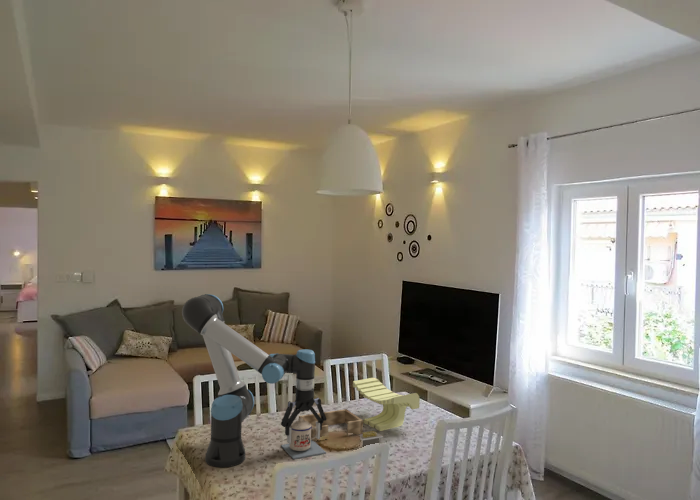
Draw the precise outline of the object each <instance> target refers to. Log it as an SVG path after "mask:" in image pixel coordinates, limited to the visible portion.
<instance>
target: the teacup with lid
mask: <svg viewBox="0 0 700 500" xmlns="http://www.w3.org/2000/svg"><path fill="white" fill-rule="evenodd" d="M290 427H291V428H292V430H291V444H290V445H289V446H290V448H291V449H292V450H296V451H304V450H307V449H309V448H310V446H311V440H312V439H314V438H315V437H316V436H317V429H316V428H315V427H312V426H311V424H310V423H309V422H306V421H304V420H303V418H299V417H298V419H297V420H296V421H295V420H294V421H293V423H292V424H291V426H290ZM312 429H315V434H314V436H313V437H311V430H312Z"/></svg>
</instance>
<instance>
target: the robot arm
mask: <svg viewBox="0 0 700 500" xmlns="http://www.w3.org/2000/svg"><path fill="white" fill-rule="evenodd" d="M223 312H224V304H223V302H222V300H221V299H220V298H219V297H218V296H217V295H215V294H210V293H208V294H207V293H205V294H201V295H197V296H195V297H191V298H189V299H188V300H187V301H186V302H185V303H184V304H183V306H182V309H181V315H182V319H183V321H184V323H186V325H187V326H188V327H190V328H191V329H193V330H194V331H195V332H197V333H198V334H199V335H201V336H202V338H203V340H204V343H205V347H206V349H207V352H208V356H209V358H210V361H211V365H212V368H213V371H214V374H215V376H216V379H217V382H218V383H217V384H218V385H219V386H218V387H219V391H218V393H217V396H218V397H216V398H214V400H213V401H212V403H211V407H210V441H209V444H208V446H207V450H206V451H205V457H204V458H205V463H206V464H207V465H209V466H211V467H215V468H230V467H235V466H237V465H240V464H242V463H243V462H245V460H246V450H245V447H244V442H243V440H242V424H243V421H245V420H246V418H247V417H249V415H250V414H251V413H252V411H253V409H254V406H255V397H254V395H253V393H252V392H251V390H250V389H248V387H247V384H246V383H245V382H244V381H242V380H241V378H240V375H239V372H238V370H237V367H236V364H235V361H234V358H233V355H234V356H235V357H236V358H238V359H239V360H240V361H242V362H244V363H245V364H247V365H248V366H249V367H250V368H252V369H253V370H255V371H256V372H257V373H259V374H261V377H262V379H263V381H264V382H266V383H267V384H270V385H271V384H276V383H278V382H280V380H282V379H283V377H284V376H285V374H295V388H296V389H295V400H294V401H290V400H289V401H288V402H287V408H286V409H285V413H284V415H283V417H282V419H281V422H280V425H281V426H282V427H283V428H284V434H285V436H286V442H287V444H291V430H292V428H291V427H290V426H291V424H292V423H293V422H295V420H296V419H297V417H298V416H299V414H300V413H301V412H303V413H304V412H309V411H310V412H311V414H313V415H314V416H315V417H316V419H317V420H318V421H316V429H317V436H316V438H317V439H320V430H322V423H323V421H326V416H325V413H324V408H323V405H322V400H321V399H320V398H319V397H316V398H314V397H315V369H316V354H315V352H314V350H312V349H306V348H305V349H298V350H297V351H296V354H290V353H288V354H286V353H278V352H277V353H270V354H268V353H267V352H266V351H264V350H263V349H261V348H260V347H258V346H257V345H256V344H254V343H253V342H252V341H250V340H248V339H247V338H246V337H245V336H243V335H241V334H240V333H239V332H238V331H236V330H234V329H233V328H232V327H230V326H229V325H227V324H226V323H225V322H226V321H225V318H224V315H223ZM314 404H315V405H316V407H317V410H318V412H317V411H316V409H315V408H314V406H313V405H314ZM317 413H320V415H321V418H320V417H319V415H318V414H317Z"/></svg>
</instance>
